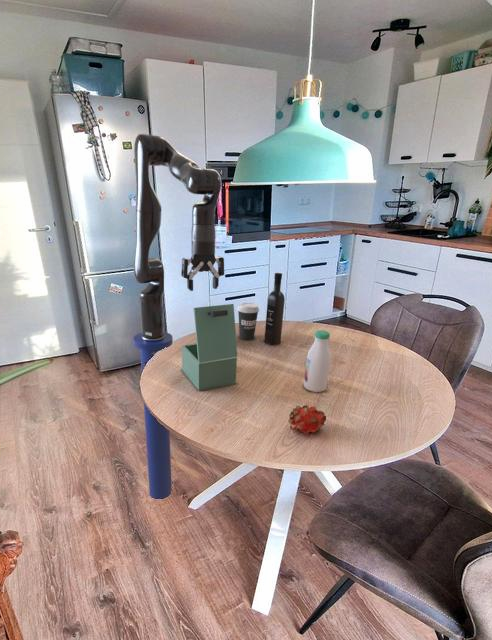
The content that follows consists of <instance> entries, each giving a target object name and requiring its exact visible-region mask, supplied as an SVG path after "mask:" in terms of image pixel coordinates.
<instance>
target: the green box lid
mask: <svg viewBox="0 0 492 640" xmlns="http://www.w3.org/2000/svg"><path fill="white" fill-rule="evenodd" d="M193 318H194V329H195V338H196V343H197V351H198V362H199V363H201V362H207V361H214V360H220V359H226V358H232V357H237V358H238V346H237V331H236V318H235V305H234V303H229V304H228V303H227V304H219V305H208V306H198V307H193Z"/></svg>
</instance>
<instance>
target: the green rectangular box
mask: <svg viewBox="0 0 492 640" xmlns="http://www.w3.org/2000/svg"><path fill="white" fill-rule="evenodd" d="M237 361H238V356H237V357H232V358H226V359H220V360H214V361H208V362H201V363H199V362H198V351H197V342H196V343H190V344H182V345H181V371H182V372H183V373H184V374H185V376H186V377H187V378H188V379H189V380H190V382H191V383H192V385H194V387H195V388H196V389H197V390H198V392H199V391H204V390H210V389H215V388H216V389H217V388H219V387H220V388H221V387H226V386H229V385H230V386H231V385H236V384H237V365H238V364H237V363H238V362H237Z"/></svg>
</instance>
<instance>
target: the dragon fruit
mask: <svg viewBox="0 0 492 640" xmlns="http://www.w3.org/2000/svg"><path fill="white" fill-rule="evenodd" d="M326 421H327V415H326V413H325V411H323V410H317V407H316V406H309V405H308V404H303V406H300V405H296V406H295V407H293V408H292V410H291V411H290V413H289V419H288V423H289V424H290V426H289V428H290V430H292V431H297V433H301V432H302V433H303V434H304V435H306V436H307V437H308V436H310V435H311V433H313V434H314V433H315V434H316V433H317V432H318V431H319V430H320V429H321V428H322V427H324V426H325V422H326Z"/></svg>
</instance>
